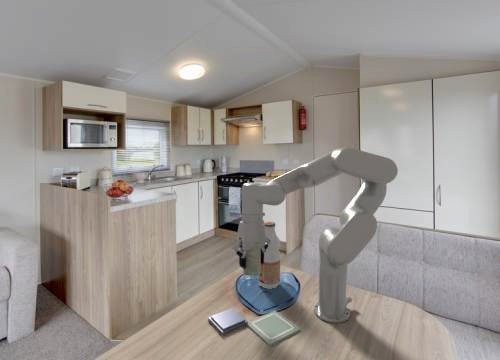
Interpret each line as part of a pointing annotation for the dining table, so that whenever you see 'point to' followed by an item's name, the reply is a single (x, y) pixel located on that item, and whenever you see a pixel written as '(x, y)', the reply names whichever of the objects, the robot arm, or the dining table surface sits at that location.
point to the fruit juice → (271, 259)
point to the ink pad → (227, 321)
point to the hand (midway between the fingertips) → (251, 264)
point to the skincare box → (253, 261)
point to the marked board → (272, 327)
